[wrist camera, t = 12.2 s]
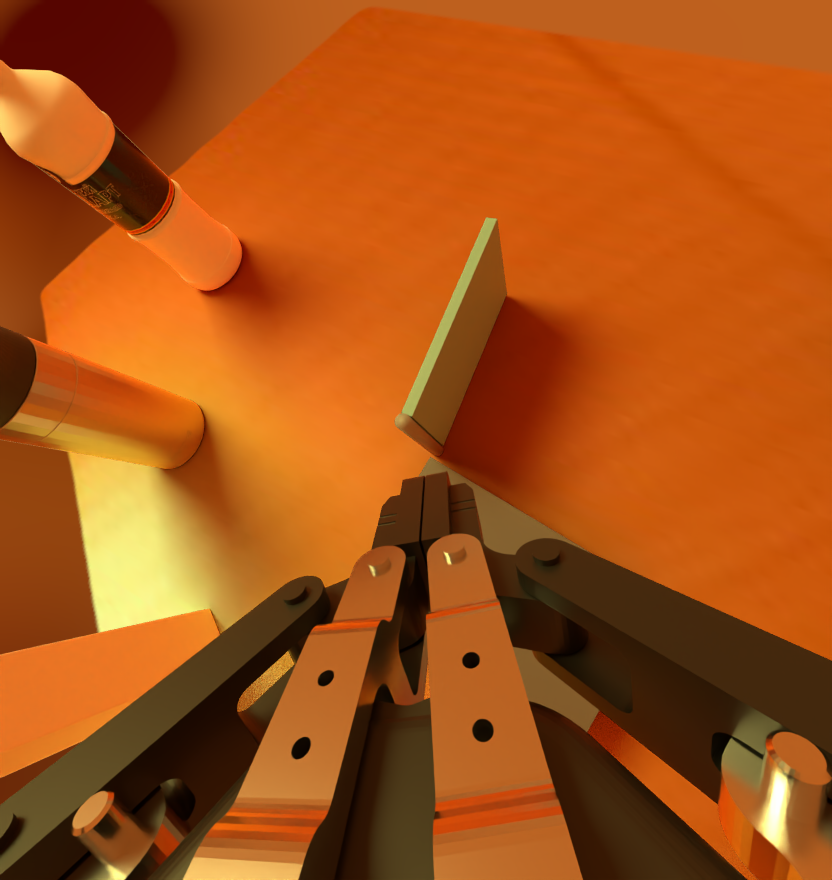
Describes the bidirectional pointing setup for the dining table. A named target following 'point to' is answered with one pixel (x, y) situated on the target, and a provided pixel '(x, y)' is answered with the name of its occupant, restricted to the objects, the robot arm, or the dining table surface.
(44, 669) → the milk
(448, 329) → the door
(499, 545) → the box with round knob
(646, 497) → the dining table surface
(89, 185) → the vodka
